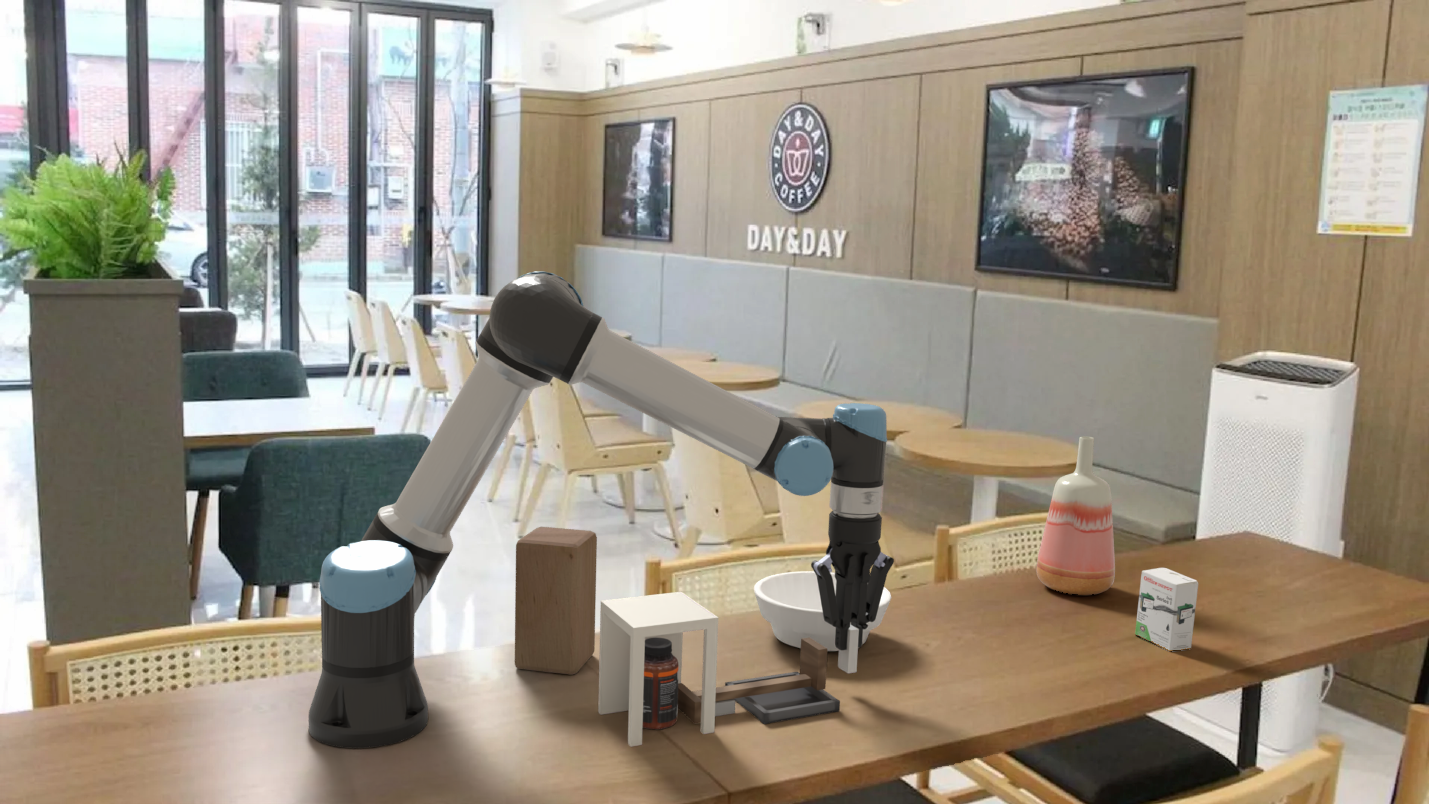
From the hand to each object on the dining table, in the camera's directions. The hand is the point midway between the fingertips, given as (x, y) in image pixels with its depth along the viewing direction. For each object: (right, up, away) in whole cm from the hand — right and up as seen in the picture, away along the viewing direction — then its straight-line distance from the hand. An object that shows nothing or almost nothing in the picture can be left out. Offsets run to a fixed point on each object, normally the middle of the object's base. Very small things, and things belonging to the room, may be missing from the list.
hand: (847, 669), depth 175 cm
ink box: (+56, -2, +27) cm, 62 cm away
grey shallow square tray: (-10, -4, -4) cm, 11 cm away
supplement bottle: (-27, -4, -13) cm, 31 cm away
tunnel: (-25, -4, -12) cm, 28 cm away
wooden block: (-44, -1, +8) cm, 44 cm away
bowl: (-2, 0, +23) cm, 23 cm away
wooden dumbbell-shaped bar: (-14, -3, -6) cm, 16 cm away
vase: (+50, +3, +56) cm, 75 cm away
